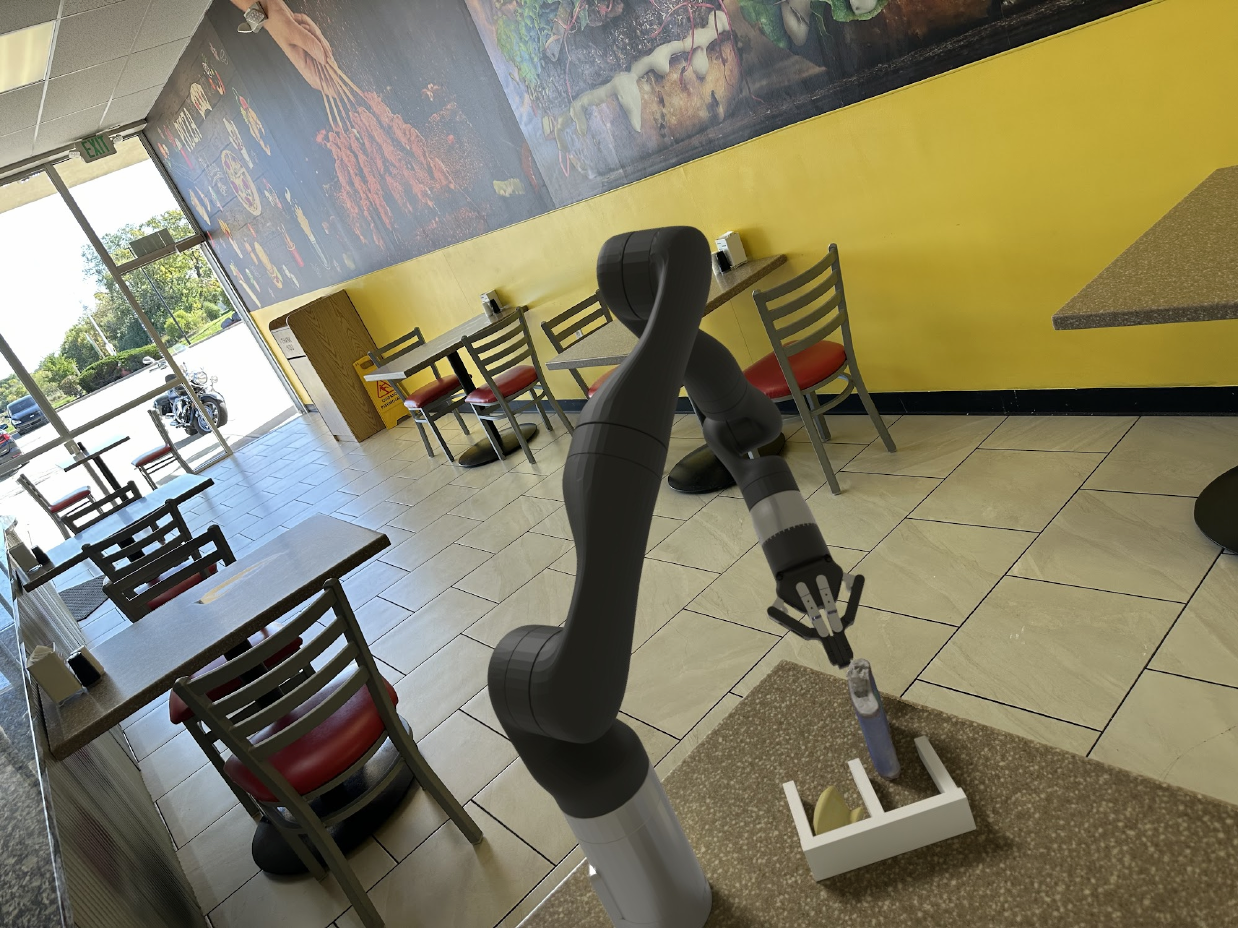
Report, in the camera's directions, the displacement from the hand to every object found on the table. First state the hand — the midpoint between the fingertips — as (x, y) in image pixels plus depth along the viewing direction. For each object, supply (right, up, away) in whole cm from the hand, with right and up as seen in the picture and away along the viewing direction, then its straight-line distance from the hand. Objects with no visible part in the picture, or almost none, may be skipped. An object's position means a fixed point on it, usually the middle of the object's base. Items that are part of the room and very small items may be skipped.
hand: (845, 666), depth 92 cm
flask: (+2, -7, -6) cm, 10 cm away
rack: (-1, -11, -14) cm, 18 cm away
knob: (-4, -13, -14) cm, 20 cm away
